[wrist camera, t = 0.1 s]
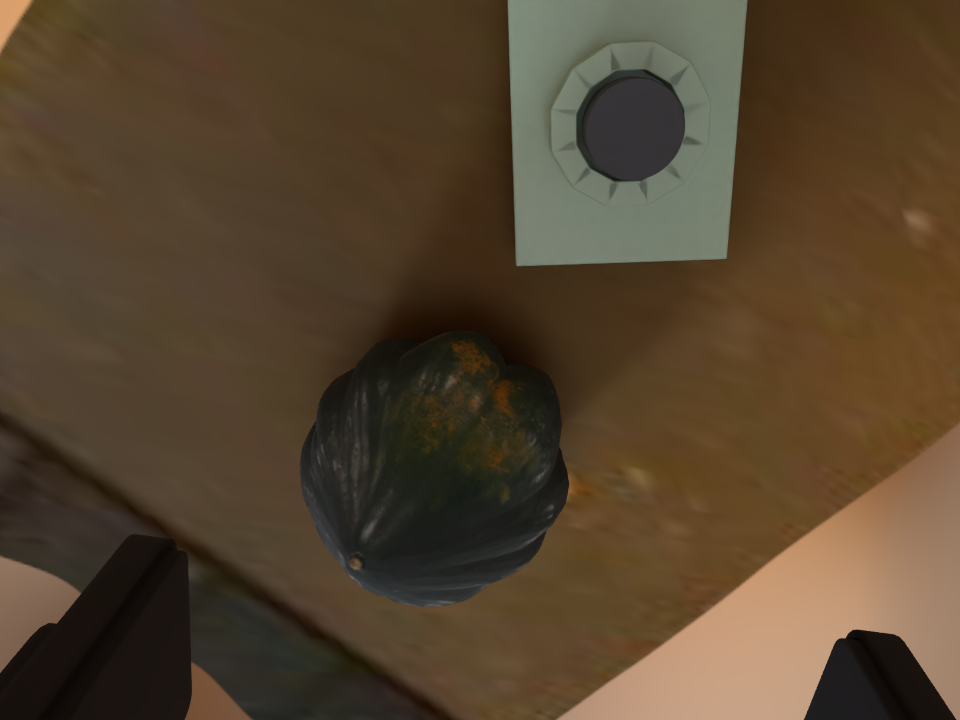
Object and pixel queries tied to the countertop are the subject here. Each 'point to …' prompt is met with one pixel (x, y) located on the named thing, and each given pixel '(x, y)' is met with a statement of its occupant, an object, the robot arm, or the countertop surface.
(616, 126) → the button
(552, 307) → the countertop surface
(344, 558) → the squash
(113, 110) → the countertop surface
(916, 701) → the robot arm
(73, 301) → the countertop surface
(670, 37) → the knob plate
